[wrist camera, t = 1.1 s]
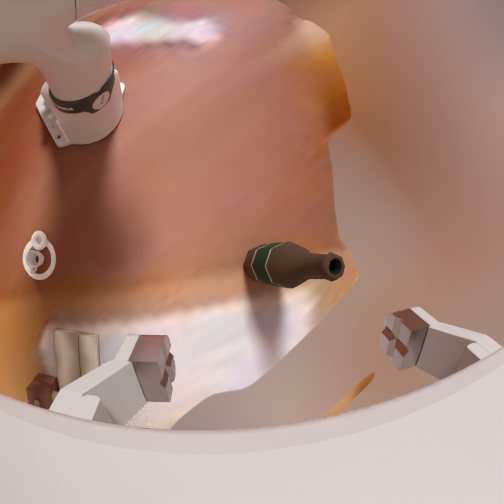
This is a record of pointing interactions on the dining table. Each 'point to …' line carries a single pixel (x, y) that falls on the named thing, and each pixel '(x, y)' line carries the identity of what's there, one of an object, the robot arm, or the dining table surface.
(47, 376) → the block
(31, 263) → the white curved piece
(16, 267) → the dining table surface
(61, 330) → the ash board
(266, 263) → the beer bottle
